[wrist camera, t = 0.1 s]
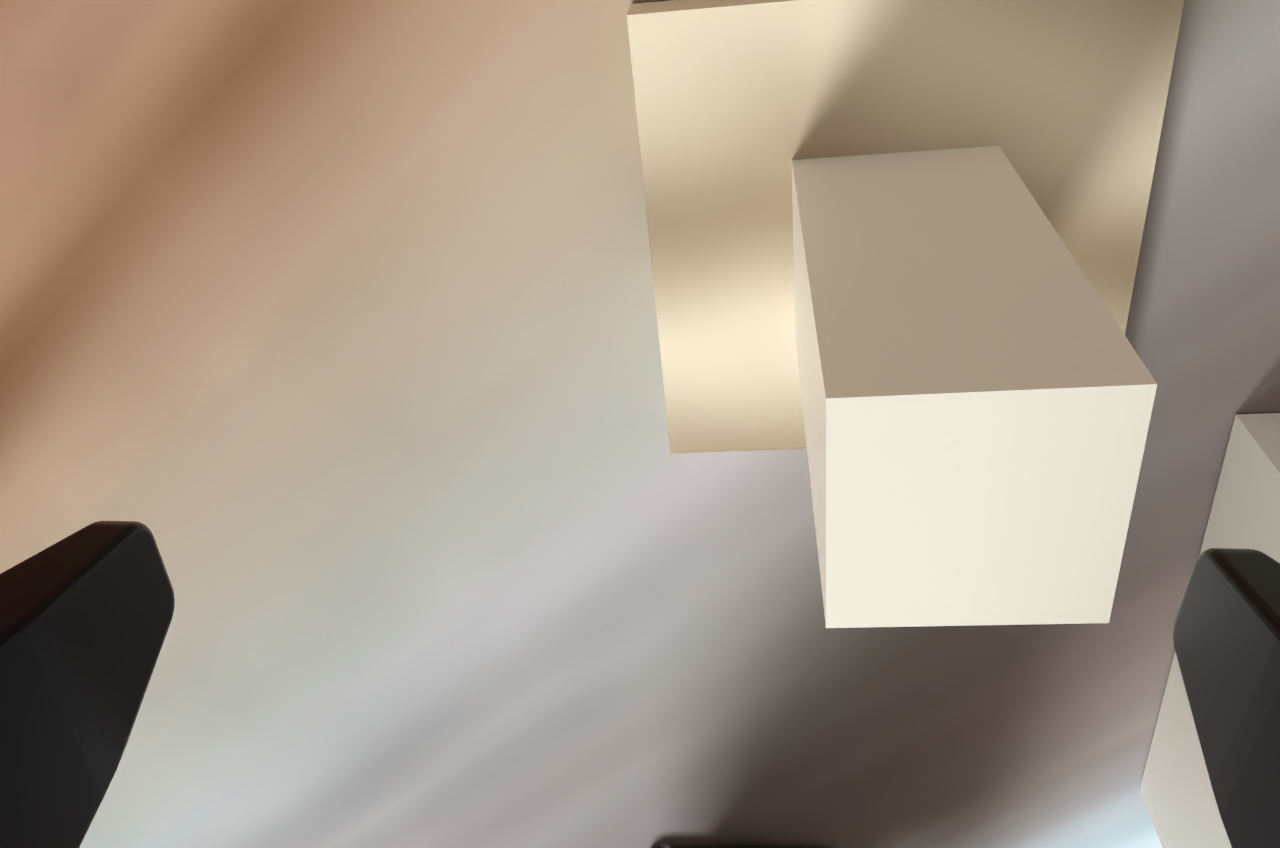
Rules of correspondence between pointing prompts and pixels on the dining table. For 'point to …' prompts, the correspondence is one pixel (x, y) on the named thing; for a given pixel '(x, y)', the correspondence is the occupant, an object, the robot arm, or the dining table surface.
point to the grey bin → (1175, 770)
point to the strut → (958, 397)
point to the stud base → (863, 125)
